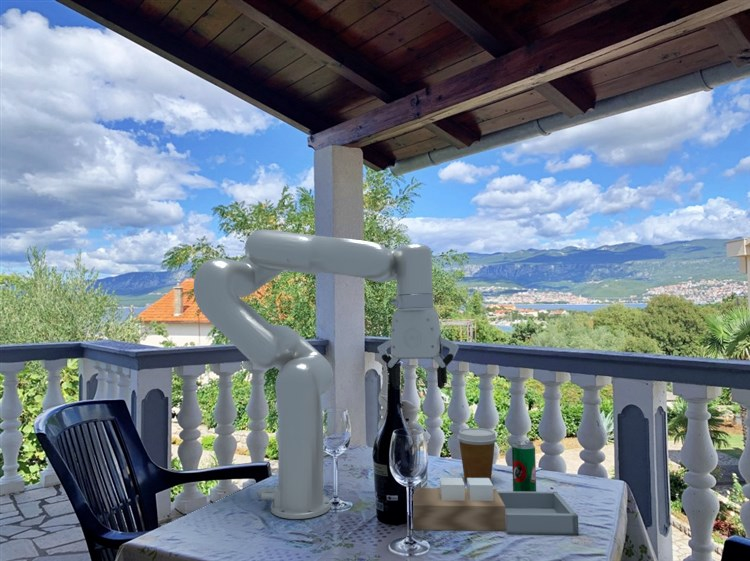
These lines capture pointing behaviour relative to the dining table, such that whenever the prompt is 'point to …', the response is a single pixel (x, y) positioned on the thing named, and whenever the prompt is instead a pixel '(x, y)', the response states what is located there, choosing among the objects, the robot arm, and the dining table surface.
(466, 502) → the wooden base board
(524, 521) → the tray
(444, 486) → the tile
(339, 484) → the dining table surface
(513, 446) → the soda can
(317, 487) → the robot arm
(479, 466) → the disposable coffee cup
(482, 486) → the tile
